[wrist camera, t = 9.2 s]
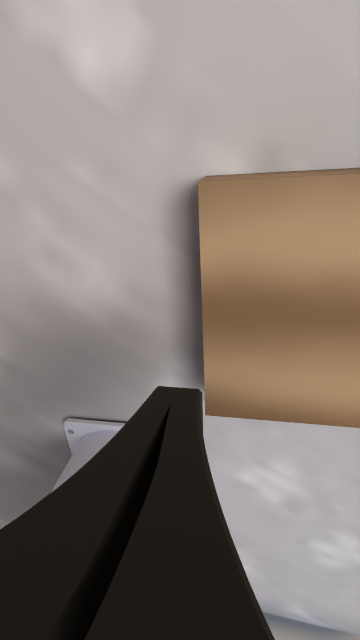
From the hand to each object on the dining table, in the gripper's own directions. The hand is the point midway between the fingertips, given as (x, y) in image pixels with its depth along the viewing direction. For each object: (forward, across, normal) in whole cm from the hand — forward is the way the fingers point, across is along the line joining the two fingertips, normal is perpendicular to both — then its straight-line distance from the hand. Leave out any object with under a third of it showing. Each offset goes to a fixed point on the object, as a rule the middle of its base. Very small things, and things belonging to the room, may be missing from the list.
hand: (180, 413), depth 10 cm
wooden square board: (+9, -6, 0) cm, 11 cm away
